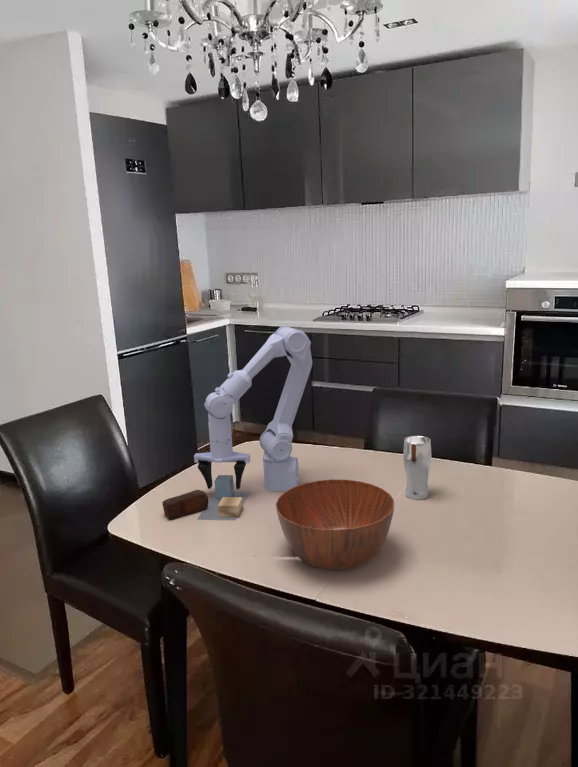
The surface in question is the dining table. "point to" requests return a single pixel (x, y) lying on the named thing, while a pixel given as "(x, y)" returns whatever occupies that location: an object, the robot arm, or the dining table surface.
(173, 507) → the brick
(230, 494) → the blue block
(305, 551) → the bowl
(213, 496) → the board
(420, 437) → the beer glass
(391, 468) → the dining table surface
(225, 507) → the oak block
